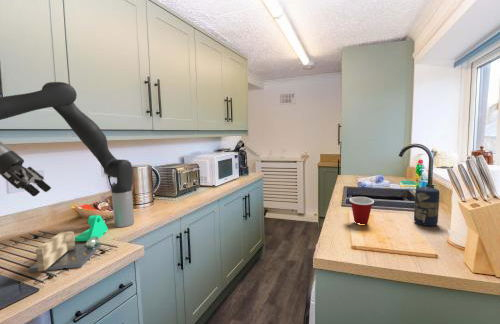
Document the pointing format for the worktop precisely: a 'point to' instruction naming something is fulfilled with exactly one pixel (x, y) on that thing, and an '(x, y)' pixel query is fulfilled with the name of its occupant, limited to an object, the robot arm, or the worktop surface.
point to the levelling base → (73, 256)
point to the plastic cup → (361, 209)
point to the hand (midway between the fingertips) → (43, 192)
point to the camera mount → (93, 229)
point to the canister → (426, 206)
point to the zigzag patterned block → (54, 249)
